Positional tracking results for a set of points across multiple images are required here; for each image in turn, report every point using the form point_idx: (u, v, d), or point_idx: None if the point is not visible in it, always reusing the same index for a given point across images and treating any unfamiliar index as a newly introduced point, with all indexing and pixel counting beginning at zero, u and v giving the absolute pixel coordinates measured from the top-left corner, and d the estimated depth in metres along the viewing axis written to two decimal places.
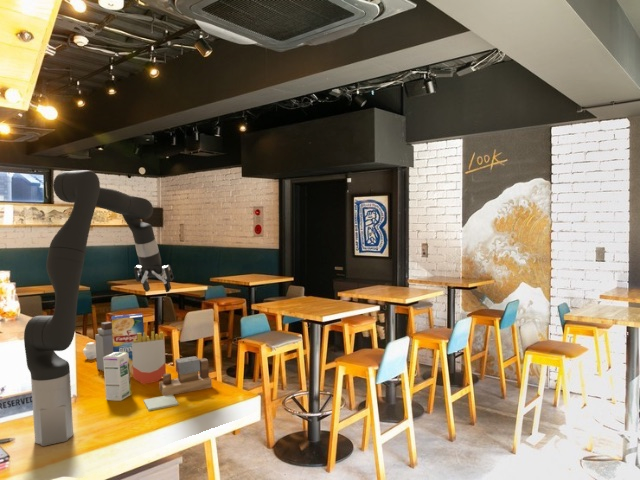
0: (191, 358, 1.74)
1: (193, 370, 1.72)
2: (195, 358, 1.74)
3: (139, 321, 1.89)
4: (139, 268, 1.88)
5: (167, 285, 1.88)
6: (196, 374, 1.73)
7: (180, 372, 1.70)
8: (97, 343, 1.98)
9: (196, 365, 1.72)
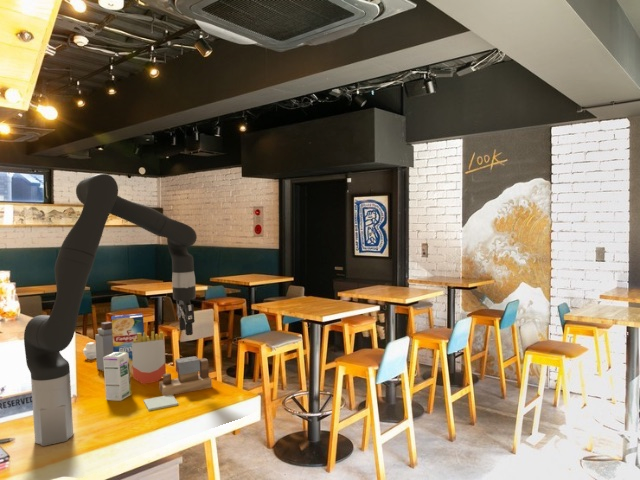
0: (191, 358, 1.74)
1: (193, 370, 1.72)
2: (195, 358, 1.74)
3: (140, 321, 1.89)
4: None
5: (187, 327, 1.68)
6: (196, 374, 1.73)
7: (180, 372, 1.70)
8: (97, 343, 1.98)
9: (196, 365, 1.72)
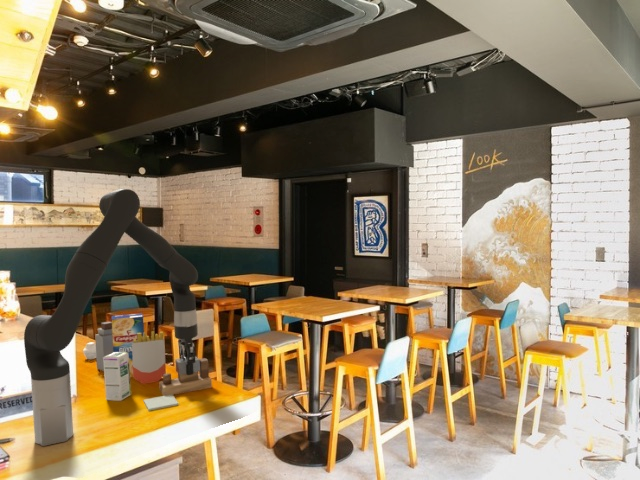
0: None
1: (193, 370, 1.72)
2: (195, 358, 1.74)
3: (139, 321, 1.89)
4: None
5: (188, 367, 1.70)
6: (196, 374, 1.73)
7: (180, 372, 1.70)
8: (97, 343, 1.98)
9: (196, 365, 1.72)
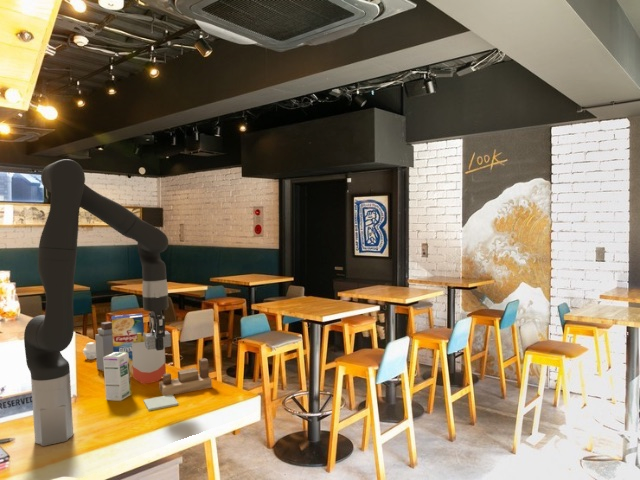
0: None
1: (163, 345, 1.58)
2: (166, 332, 1.60)
3: (139, 321, 1.88)
4: None
5: (157, 341, 1.56)
6: (196, 374, 1.73)
7: (149, 347, 1.56)
8: (97, 343, 1.98)
9: (166, 339, 1.58)
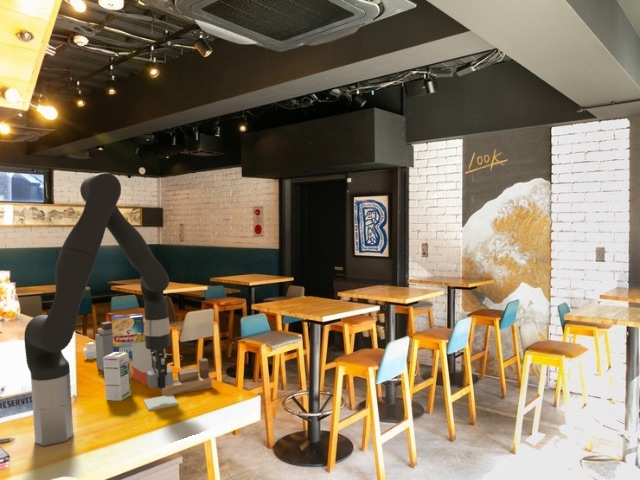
0: None
1: None
2: (168, 370, 1.61)
3: (139, 321, 1.89)
4: None
5: (159, 380, 1.57)
6: (196, 374, 1.73)
7: (151, 385, 1.57)
8: (97, 343, 1.98)
9: (168, 377, 1.59)
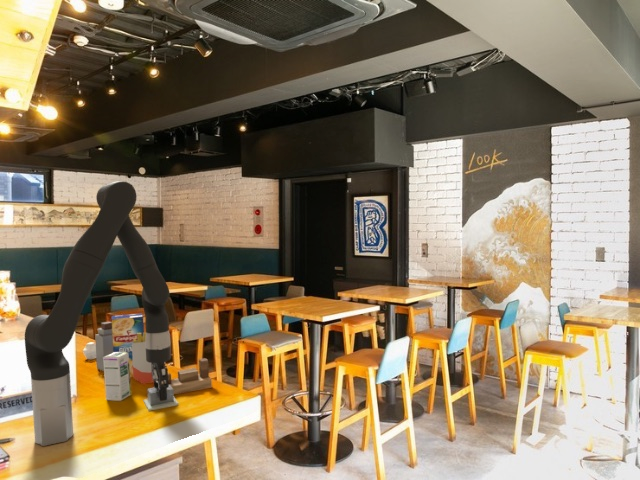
0: None
1: (166, 401, 1.59)
2: (169, 387, 1.61)
3: (139, 321, 1.89)
4: None
5: (161, 392, 1.56)
6: (196, 374, 1.73)
7: (152, 403, 1.57)
8: (97, 343, 1.98)
9: (169, 395, 1.59)
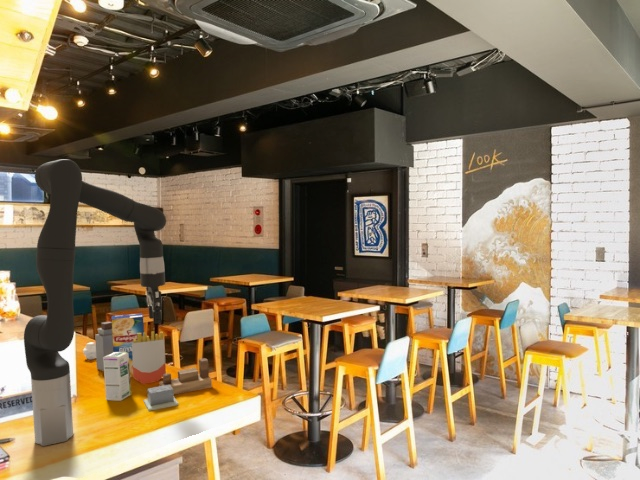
0: (164, 387, 1.61)
1: (166, 401, 1.59)
2: (169, 387, 1.61)
3: (139, 321, 1.89)
4: None
5: (154, 315, 1.60)
6: (196, 374, 1.73)
7: (152, 403, 1.57)
8: (97, 343, 1.98)
9: (169, 395, 1.59)
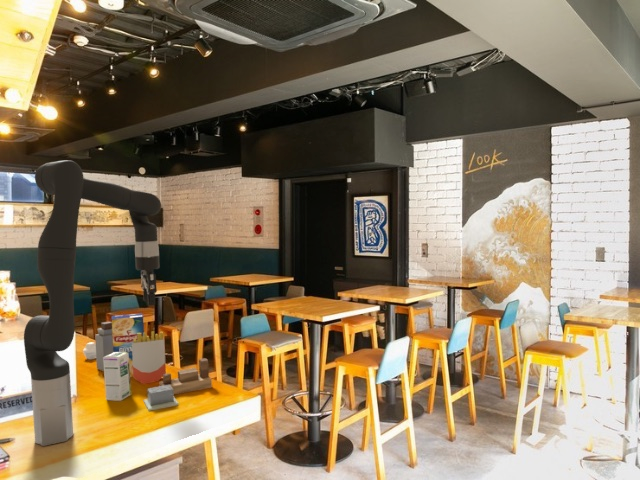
0: (164, 387, 1.61)
1: (166, 401, 1.59)
2: (169, 387, 1.61)
3: (139, 321, 1.89)
4: None
5: (149, 297, 1.65)
6: (196, 374, 1.73)
7: (152, 403, 1.57)
8: (97, 343, 1.98)
9: (169, 395, 1.59)
